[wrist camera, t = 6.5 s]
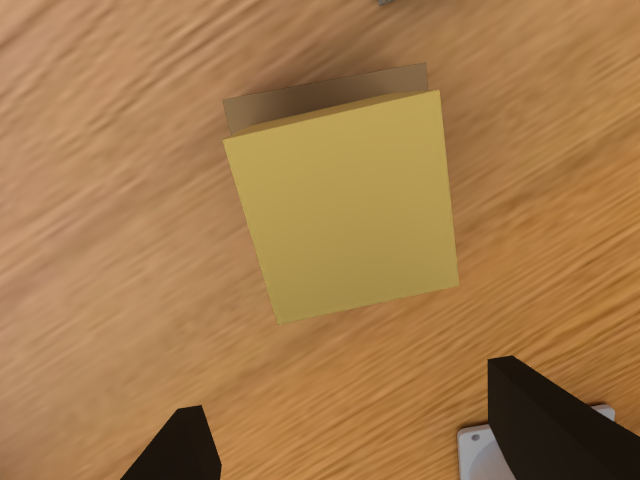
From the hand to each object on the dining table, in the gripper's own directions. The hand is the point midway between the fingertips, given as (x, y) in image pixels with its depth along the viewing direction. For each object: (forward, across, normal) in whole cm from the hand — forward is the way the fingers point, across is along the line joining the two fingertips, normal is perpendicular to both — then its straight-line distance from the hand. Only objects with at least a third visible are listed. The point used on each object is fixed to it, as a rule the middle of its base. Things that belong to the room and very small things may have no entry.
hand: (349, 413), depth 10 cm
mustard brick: (+6, -1, -5) cm, 8 cm away
